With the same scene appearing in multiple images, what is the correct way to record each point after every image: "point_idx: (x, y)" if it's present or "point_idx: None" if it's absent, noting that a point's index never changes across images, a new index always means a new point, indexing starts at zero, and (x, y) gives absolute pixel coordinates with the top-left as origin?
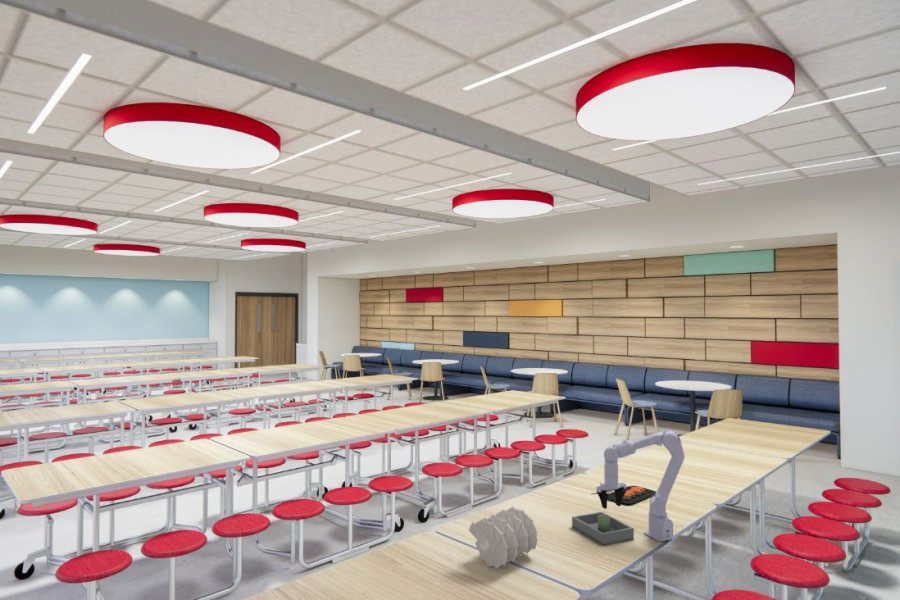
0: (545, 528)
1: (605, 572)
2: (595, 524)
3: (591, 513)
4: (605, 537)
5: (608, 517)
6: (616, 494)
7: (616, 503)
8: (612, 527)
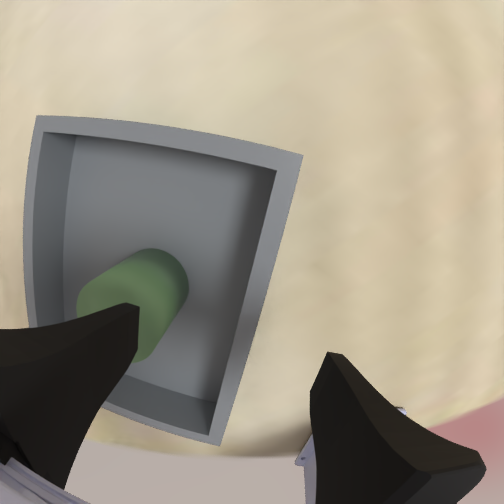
0: (2, 87)
1: None
2: (188, 185)
3: (184, 130)
4: None
5: None
6: (355, 447)
7: (327, 368)
8: (244, 287)
